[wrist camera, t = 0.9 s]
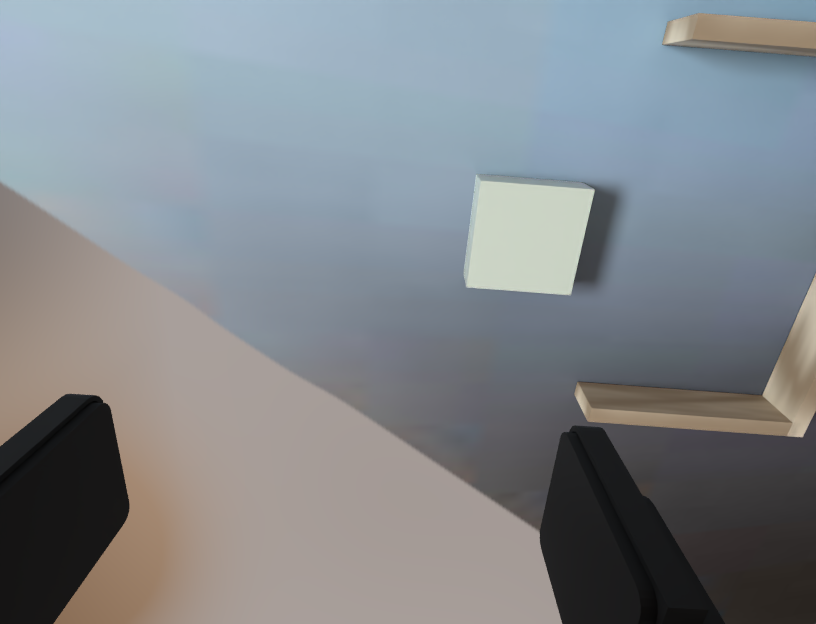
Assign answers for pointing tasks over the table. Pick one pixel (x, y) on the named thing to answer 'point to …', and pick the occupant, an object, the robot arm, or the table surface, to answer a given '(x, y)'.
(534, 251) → the sage tile
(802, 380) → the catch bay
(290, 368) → the table surface
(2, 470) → the robot arm
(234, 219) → the table surface
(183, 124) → the table surface
